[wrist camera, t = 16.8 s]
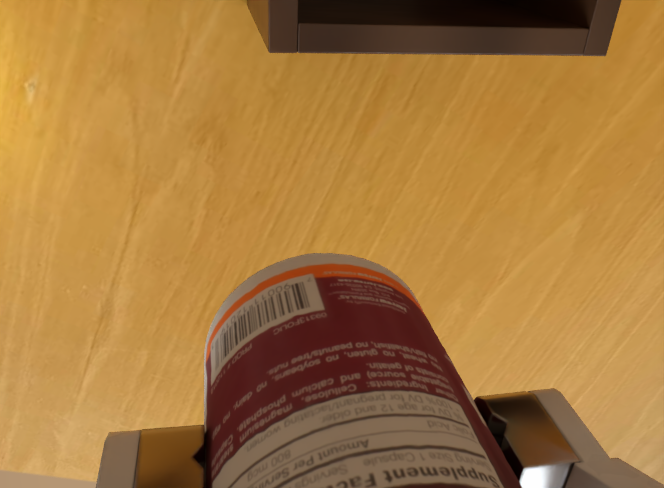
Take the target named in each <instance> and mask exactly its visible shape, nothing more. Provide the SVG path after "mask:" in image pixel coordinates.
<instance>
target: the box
mask: <svg viewBox="0 0 664 488" xmlns="http://www.w3.org/2000/svg"><path fill="white" fill-rule="evenodd" d="M620 3H621V0H247V5H248V8H249V10H250V13H251V15H252V17H253V19H254V21H255V23H256V25H257V28H258V30H259V32H260V34H261V36H262V38H263V41H264V43H265V45H266V47H267V49H268V51H269V52H270V53H297V52H298V53H352V54H456V55H561V56H581V55H583V56H606V53H607V50H608V46H609V43H610V39H611V35H612V32H613V28H614V25H615V21H616V17H617V14H618V10H619V7H620Z"/></svg>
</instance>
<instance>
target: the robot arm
mask: <svg viewBox="0 0 664 488" xmlns="http://www.w3.org/2000/svg"><path fill="white" fill-rule="evenodd" d="M474 402H475V404H476V406H477V408H478V410H479V412H480V414H481V416H482V418H483V419H484V421H485V423H486V424H487V426H488V428H489V430H490V432H491V433H492V435H493V437H494V438H495V440H496V442H497V444H498V445H499V447H500V449H501V450H502V452H503V454H504V456H505V458H506V460H507V462H508V464H509V465H510V467H511V468H512V470H513V472H514V474H515V475H516V477H517V479H518V480H519V482H520V484H521V486H522V488H664V485H663V484H661V483H659V482H658V481H656V480H654V479H653V478H651V477H649V476H648V475H646V474H644V473H642V472H641V471H639V470H637V469H636V468H634V467H632V466H631V465H629V464H627V463H626V462H624V461H622V460H621V459H619V458H611V459H610V458H609V456H608V455H607V454H606V452H605V451H604V450H603V448H602V447H601V446H600V444H599V443H598V442H597V440H596V439H595V437H594V436H593V435H592V433H591V432H590V431H589V429H588V428H587V427H586V425H585V424H584V423H583V421H582V420H581V419H580V417H579V416H578V415H577V413H576V412H575V411H574V409H573V408H572V407H571V405H570V404H569V403H568V401H567V400H566V399H565V397H564V396H563V395H562V394H561V392H559V391H558V390H556V389H554V388H553V389H543V390H534V391H528V392H526V391H523V392H514V393H505V394H496V395H487V396H478V397H476V398H475V400H474ZM204 469H205V425H194V426H180V427H167V428H154V429H142V430H134V431H122V432H109V434H108V436H107V438H106V440H105V443H104V448H103V453H102V458H101V463H100V468H99V473H98V479H97V484H96V488H205V479H204Z"/></svg>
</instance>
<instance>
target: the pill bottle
mask: <svg viewBox="0 0 664 488" xmlns="http://www.w3.org/2000/svg"><path fill="white" fill-rule="evenodd" d="M204 425H205V469H204V479H205V488H522V486H521V484H520V482H519V480H518V479H517V477H516V475H515V474H514V472H513V470H512V468H511V467H510V465H509V464H508V462H507V460H506V458H505V456H504V454H503V452H502V450H501V449H500V447H499V445H498V444H497V442H496V440H495V438H494V437H493V435H492V433H491V432H490V430H489V428H488V426H487V424H486V423H485V421H484V419H483V418H482V416H481V414H480V412H479V410H478V408H477V406H476V404H475V402H474V400H473V398H472V397H471V395H470V393H469V392H468V390H467V388H466V387H465V385H464V383H463V381H462V379H461V378H460V376H459V374H458V373H457V371H456V369H455V367H454V365H453V363H452V361H451V359H450V358H449V356H448V355H447V353H446V351H445V349H444V347H443V346H442V344H441V343H440V341H439V339H438V337H437V335H436V334H435V332H434V330H433V328H432V326H431V325H430V323H429V321H428V319H427V318H426V316H425V314H424V312H423V310H422V308H421V306H420V304H419V303H418V301H417V299H416V297H415V296H414V294H413V292H412V291H411V290H410V288H409V287H408V286H407V285H406V284H405V283H404V282H403V281H402V280H401V279H400V278H399V277H398V276H397V275H395V274H394V273H392V272H391V271H390V270H388V269H386V268H385V267H383V266H381V265H379V264H377V263H374V262H371V261H369V260H366V259H363V258H358V257H355V256H352V255H342V254H332V253H312V254H305V255H301V256H296V257H292V258H288V259H285V260H283V261H280V262H277V263H275V264H273V265H271V266H268V267H266V268H264V269H262V270H260V271H259V272H257V273H255V274H254V275H252V276H251V277H249V278H248V279H247V280H245V281H244V282H243V283H242V284H241V285H239V286H238V287H237V288H236V289H235V290H234V291H233V292H232V293H231V294H230V295H229V296H228V297H227V298H226V300H225V301H224V302H223V304H222V306H221V307H220V309H219V310H218V312H217V314H216V315H215V317H214V319H213V321H212V324H211V327H210V329H209V332H208V336H207V339H206V345H205V353H204Z"/></svg>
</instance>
